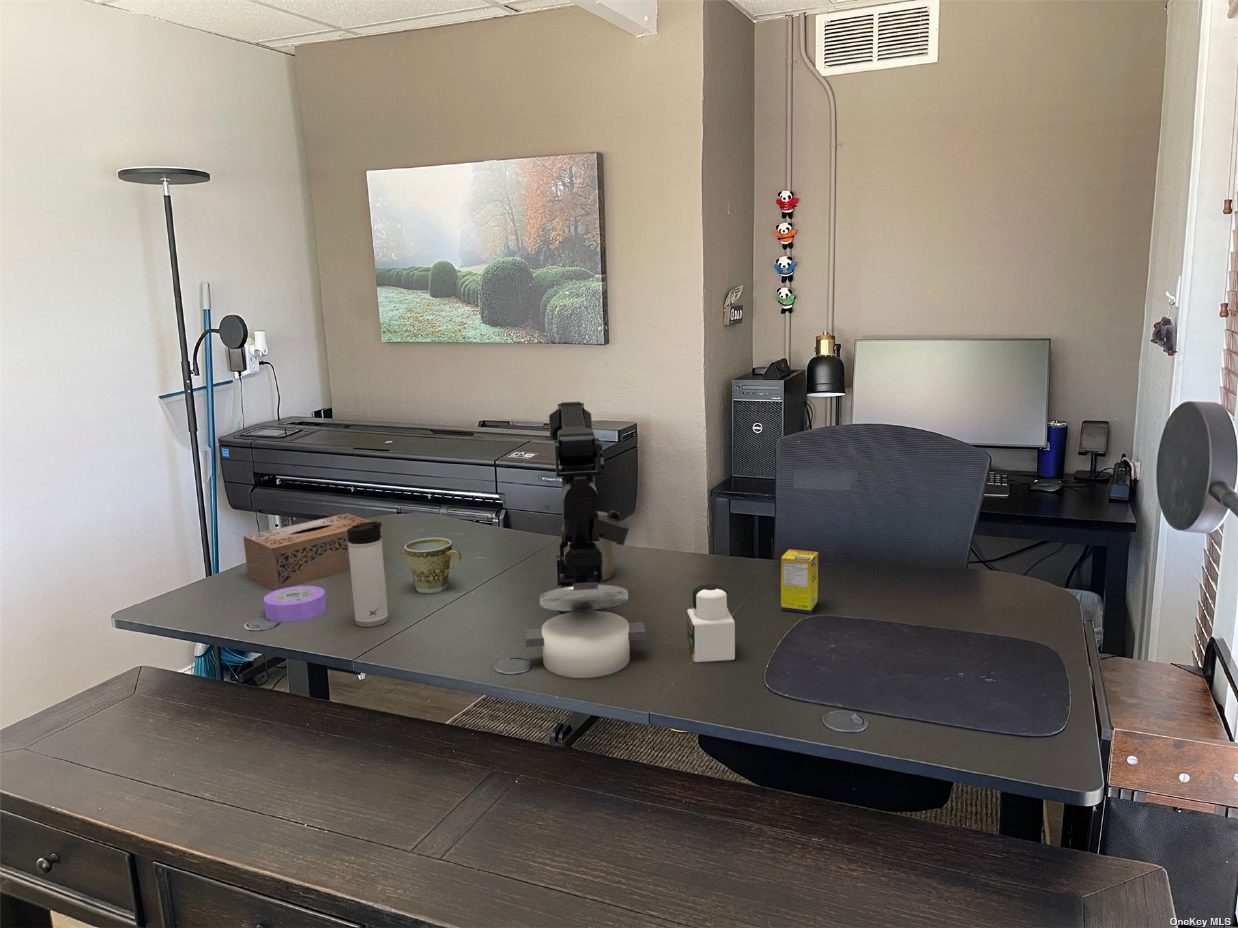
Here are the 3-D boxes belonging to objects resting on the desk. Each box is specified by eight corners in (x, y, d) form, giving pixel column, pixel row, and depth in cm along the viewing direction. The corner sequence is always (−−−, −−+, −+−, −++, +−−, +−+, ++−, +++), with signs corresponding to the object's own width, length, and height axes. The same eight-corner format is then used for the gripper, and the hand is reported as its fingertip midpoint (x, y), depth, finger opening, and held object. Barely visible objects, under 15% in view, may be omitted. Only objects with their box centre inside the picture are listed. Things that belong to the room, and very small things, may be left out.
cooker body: (527, 643, 162) (526, 612, 160) (639, 636, 163) (638, 605, 162) (527, 682, 146) (525, 647, 145) (650, 673, 148) (649, 639, 147)
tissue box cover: (350, 552, 222) (346, 513, 220) (380, 563, 212) (377, 523, 210) (248, 578, 204) (243, 536, 202) (276, 592, 194) (271, 548, 192)
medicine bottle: (687, 646, 158) (686, 582, 156) (726, 643, 159) (726, 579, 156) (693, 663, 151) (693, 596, 149) (735, 660, 152) (735, 593, 150)
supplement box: (817, 604, 177) (818, 551, 174) (810, 614, 171) (811, 560, 169) (788, 600, 179) (788, 548, 177) (780, 610, 174) (780, 557, 172)
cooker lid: (540, 612, 160) (540, 601, 160) (624, 607, 161) (624, 596, 162) (539, 592, 144) (538, 580, 145) (632, 586, 145) (631, 574, 146)
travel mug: (381, 628, 171) (372, 527, 167) (349, 626, 172) (340, 527, 168) (395, 616, 177) (387, 519, 173) (364, 614, 178) (356, 518, 174)
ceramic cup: (398, 593, 190) (394, 548, 188) (425, 578, 199) (422, 535, 197) (450, 600, 185) (447, 554, 183) (475, 584, 194) (472, 540, 192)
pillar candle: (599, 566, 204) (596, 503, 201) (621, 577, 196) (618, 511, 193) (562, 574, 199) (558, 510, 196) (583, 586, 191) (579, 519, 188)
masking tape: (303, 598, 190) (301, 581, 189) (338, 608, 183) (336, 591, 182) (253, 616, 180) (251, 598, 180) (288, 627, 174) (286, 608, 173)
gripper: (630, 514, 146) (633, 604, 149) (619, 489, 165) (622, 570, 168) (563, 518, 145) (567, 608, 148) (559, 492, 164) (563, 574, 167)
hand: (582, 589), depth 158 cm, fingers closed
